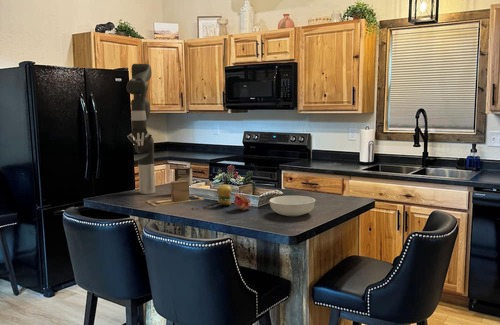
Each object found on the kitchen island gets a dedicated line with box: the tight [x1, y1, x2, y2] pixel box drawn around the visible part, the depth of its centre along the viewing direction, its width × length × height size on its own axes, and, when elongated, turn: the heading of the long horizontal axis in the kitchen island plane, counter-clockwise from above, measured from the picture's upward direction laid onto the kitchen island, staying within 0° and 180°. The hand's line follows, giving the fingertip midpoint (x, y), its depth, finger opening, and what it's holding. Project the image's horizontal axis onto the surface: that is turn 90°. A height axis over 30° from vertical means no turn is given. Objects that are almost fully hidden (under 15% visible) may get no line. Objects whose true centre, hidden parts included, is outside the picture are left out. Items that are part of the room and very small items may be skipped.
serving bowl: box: [269, 195, 316, 217], centre depth 208 cm, size 21×21×7 cm
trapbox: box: [145, 194, 206, 207], centre depth 236 cm, size 14×27×2 cm, turn 121°
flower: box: [232, 193, 253, 212], centre depth 219 cm, size 10×9×8 cm
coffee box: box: [174, 166, 193, 186], centre depth 257 cm, size 9×6×16 cm
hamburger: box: [216, 182, 233, 206], centre depth 228 cm, size 8×7×12 cm
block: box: [170, 180, 190, 202], centre depth 237 cm, size 5×8×10 cm, turn 121°
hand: (140, 152), depth 236 cm, fingers closed
